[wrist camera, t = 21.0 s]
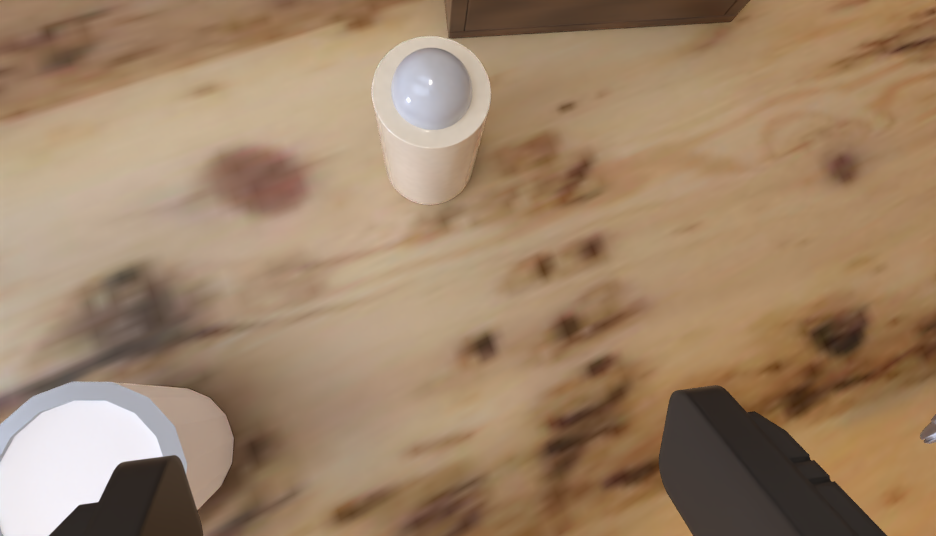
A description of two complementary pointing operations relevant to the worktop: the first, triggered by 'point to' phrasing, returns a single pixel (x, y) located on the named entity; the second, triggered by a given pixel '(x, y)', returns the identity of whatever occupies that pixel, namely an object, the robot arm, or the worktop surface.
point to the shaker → (430, 116)
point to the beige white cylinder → (102, 447)
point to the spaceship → (929, 432)
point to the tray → (579, 15)
